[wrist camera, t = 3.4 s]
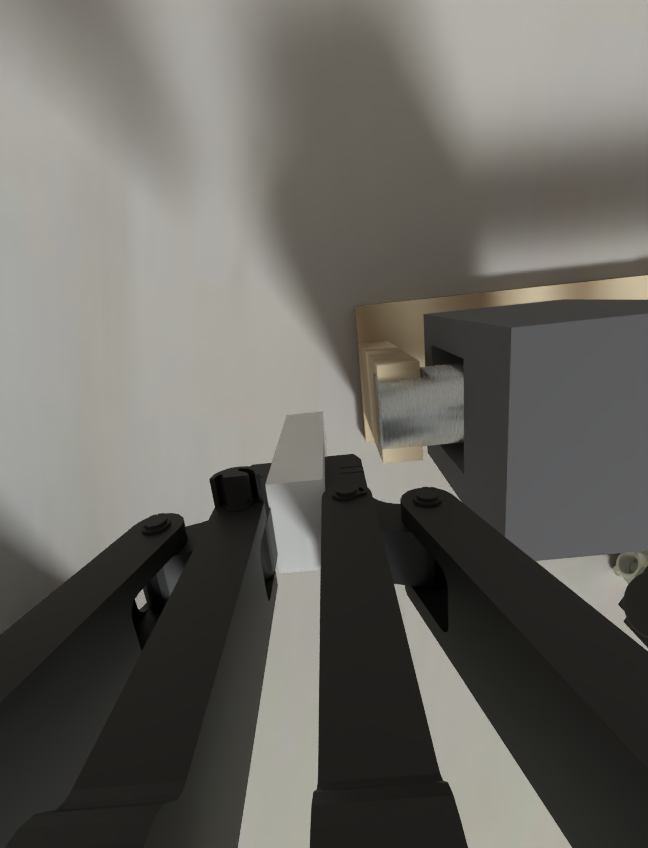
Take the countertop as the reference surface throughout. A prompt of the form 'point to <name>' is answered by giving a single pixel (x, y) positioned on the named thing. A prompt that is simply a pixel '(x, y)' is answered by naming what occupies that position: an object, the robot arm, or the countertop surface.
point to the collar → (551, 422)
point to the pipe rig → (404, 337)
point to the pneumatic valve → (635, 591)
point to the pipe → (422, 408)
